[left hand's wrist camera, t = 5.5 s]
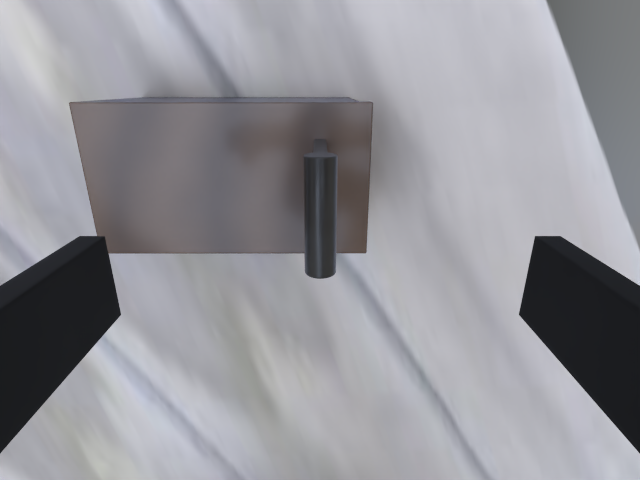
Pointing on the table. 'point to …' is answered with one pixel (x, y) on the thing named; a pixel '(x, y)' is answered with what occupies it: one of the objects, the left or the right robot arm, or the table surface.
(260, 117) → the lid
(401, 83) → the table surface
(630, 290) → the left robot arm
